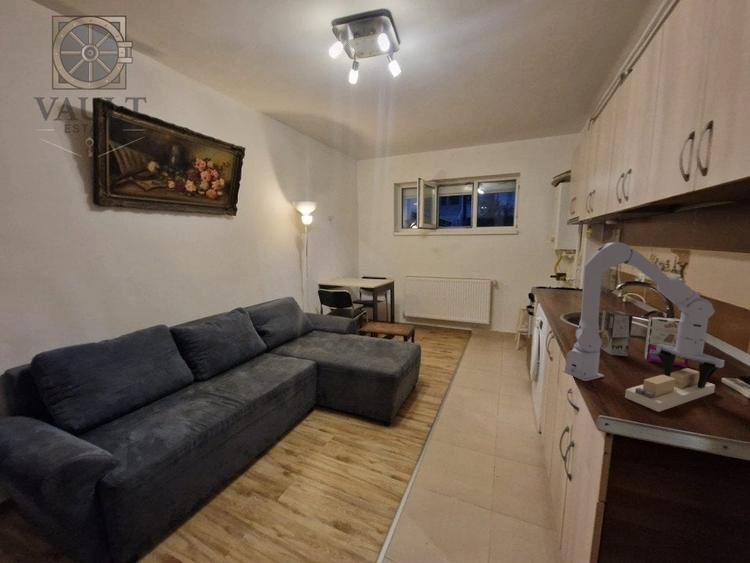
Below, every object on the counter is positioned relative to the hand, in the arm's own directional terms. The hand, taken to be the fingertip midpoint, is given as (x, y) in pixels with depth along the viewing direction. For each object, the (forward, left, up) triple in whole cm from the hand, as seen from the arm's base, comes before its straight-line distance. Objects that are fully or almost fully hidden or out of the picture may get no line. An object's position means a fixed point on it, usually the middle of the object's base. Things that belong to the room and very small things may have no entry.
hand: (683, 381), depth 93 cm
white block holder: (-6, 0, -3) cm, 7 cm away
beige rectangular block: (0, 0, -3) cm, 3 cm away
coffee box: (+16, +29, -3) cm, 33 cm away
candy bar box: (+22, +15, -3) cm, 27 cm away
